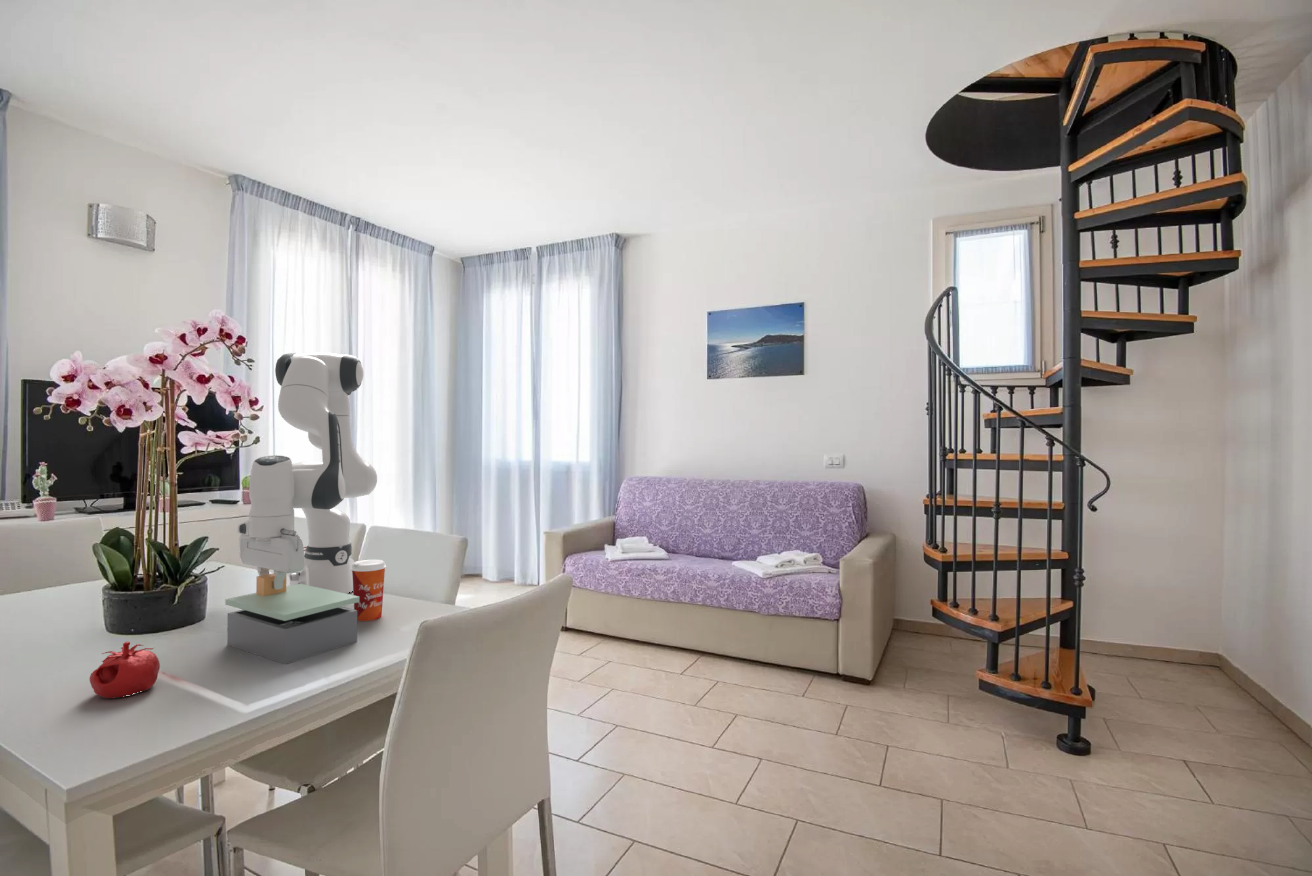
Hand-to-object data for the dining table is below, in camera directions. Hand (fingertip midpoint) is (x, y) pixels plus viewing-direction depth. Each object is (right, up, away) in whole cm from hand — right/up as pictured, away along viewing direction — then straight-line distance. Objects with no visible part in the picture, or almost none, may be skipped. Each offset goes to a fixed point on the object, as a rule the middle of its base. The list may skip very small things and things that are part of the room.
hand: (271, 587), depth 143 cm
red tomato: (-10, -13, -28) cm, 32 cm away
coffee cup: (+15, -13, +16) cm, 25 cm away
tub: (+7, -12, -4) cm, 15 cm away
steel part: (+5, -11, 0) cm, 12 cm away
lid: (+7, -3, -4) cm, 9 cm away
